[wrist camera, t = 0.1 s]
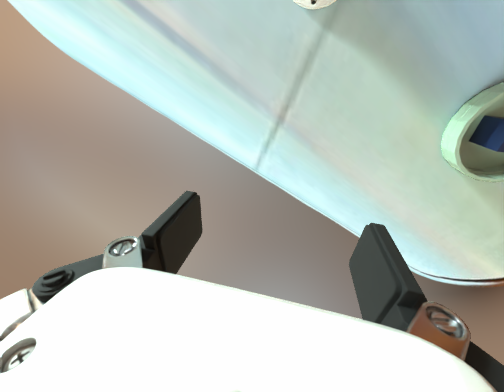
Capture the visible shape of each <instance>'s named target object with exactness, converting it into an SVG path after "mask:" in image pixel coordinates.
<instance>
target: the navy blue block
mask: <svg viewBox="0 0 504 392" xmlns="http://www.w3.org/2000/svg"><path fill="white" fill-rule="evenodd" d="M469 142H471V143H474V144H477V145H480V146H482V147H485V148H488V149H491V150H493V151H496V152H504V117H497V116H486V115H484V117H483V118H482V120H481V121H480V123H479V125H478V126H477V128H476V130H475V131H474V133H473V134H472V136H471V138H470V139H469Z"/></svg>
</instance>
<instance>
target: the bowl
mask: <svg viewBox="0 0 504 392" xmlns="http://www.w3.org/2000/svg"><path fill="white" fill-rule="evenodd" d="M484 115H486V116H497V117H504V82H502V83H500V84H497V85H495V86H493V87H491V88H489V89H486V90H484V91H482V92H481V93H479V94H478V95H476V96H475V97H474V98H472V99H471V100H469V101H468V102H467V103H465V104H464V105H463V106H462V107H461V108H460V109H459V110H458V112H457V113H456V114H455V115H454V116H453V117H452V118H451V120H450V122H449V123H448V125H447V127H446V129H445V131H444V133H443V137H442V143H441V149H442V153H443V157H444V159H445V160H446V161H447V162H448V163H449V165H450V166H451V167H453V168H455V169H456V170H458V171H460V172H461V173H463V174H465V175H467V176H469V177H471V178H473V179H475V180H478V181H486V182H504V152H496V151H493V150H491V149H488V148H485V147H482V146H480V145H477V144H474V143H471V142H469V139H470V138H471V136H472V134H473V133H474V131H475V130H476V128H477V126H478V125H479V123H480V121H481V120H482V118H483V117H484Z"/></svg>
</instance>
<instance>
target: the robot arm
mask: <svg viewBox="0 0 504 392" xmlns="http://www.w3.org/2000/svg"><path fill="white" fill-rule="evenodd" d="M293 1H294V2H295V3H296V4H297V5H299V6H300V7H303V8H306V9H321V8H324V7H326V6H329V5H331V4H332V3H334V2H336V1H337V0H293ZM313 1H315V4H314V5H313V4H312V2H313ZM201 234H202V221H201V206H200V196H199V195H197V193H196V192H190V191H186V192H185V193H184V194H182V196H180V197H179V198H178V199H177V200H176V201H175V202H174V203H173V204H172V205H171V206H170V207H169V208H168V209H167V210H166V211H165V212H164V213H163V214H161V215H160V216H159V217H158V218H157V219H156V220H155V221H154V222H153V223H152V224H151V225H150V226H149V227H148V228H147V229H146V230H145V231H144V232H143V233H142V234H141V235H140V236H139V237H138V238H136V237H133V236H126V237H121V238H118V239H116V240H114V241H112V242H111V243H110V244H108V246H107V247H106V248H105V250H104V254H101V255H98V256H95V257H92V258H89V259H85V260H82V261H79V262H75V263H72V264H69V265H65V266H63V267H59V268H57V269H54V270H51V271H50V272H48V273H46V274H44V275H43V276H42V277H40V278H39V279H38V280H37V281H36V282H35V283H34V286H33V287H32V288H31V289H29V290H27V289H26V288H24V289H22V290H20V291H18V292H16V293H13V294H11V295H9V296H7V297H5V298H3V299H1V300H0V392H504V365H502V364H501V363H499V362H498V361H497V360H495V359H494V358H493V357H491V356H490V355H489V354H487V353H486V352H485V351H483V350H482V349H481V348H479V347H478V346H476V345H475V344H474V343H473V342H471V341H470V339H471V333H470V331H469V329H468V327H467V325H466V324H465V323H464V321H463V320H462V319H461V318H460V317H459V316H458V315H457V314H455V313H454V312H453V311H451V310H450V309H448V308H446V307H445V306H443V305H441V304H438V303H435V302H428V301H427V299H426V298H425V296H424V294H423V292H422V290H421V288H420V287H419V285H418V283H417V282H416V280H415V278H414V276H413V275H412V273H411V271H410V269H409V268H408V266H407V264H406V262H405V261H404V259H403V257H402V255H401V254H400V252H399V250H398V248H397V247H396V245H395V243H394V241H393V240H392V238H391V236H390V234H389V233H388V231H387V229H386V227H385V226H384V225H381V224H375V223H370V224H369V225H366V226H365V228H364V230H363V232H362V235H361V237H360V239H359V241H358V243H357V246H356V248H355V250H354V252H353V254H352V257H351V259H350V262H349V267H350V271H351V275H352V279H353V283H354V287H355V290H356V294H357V298H358V302H359V306H360V310H361V314H362V318H363V320H362V319H358V318H354V317H350V316H347V315H343V314H339V313H335V312H330V311H327V310H322V309H318V308H314V307H310V306H306V305H302V304H298V303H294V302H290V301H286V300H282V299H278V298H273V297H269V296H265V295H261V294H256V293H253V292H249V291H244V290H240V289H236V288H232V287H228V286H223V285H219V284H215V283H211V282H206V281H202V280H198V279H193V278H189V277H185V276H180V275H176V273H177V272H178V270H179V269H180V267H181V266H182V264H183V263H184V261H185V260H186V258H187V257H188V255H189V253H190V252H191V250H192V249H193V247H194V246H195V244H196V243H197V241H198V240H199V238H200V237H201Z"/></svg>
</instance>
